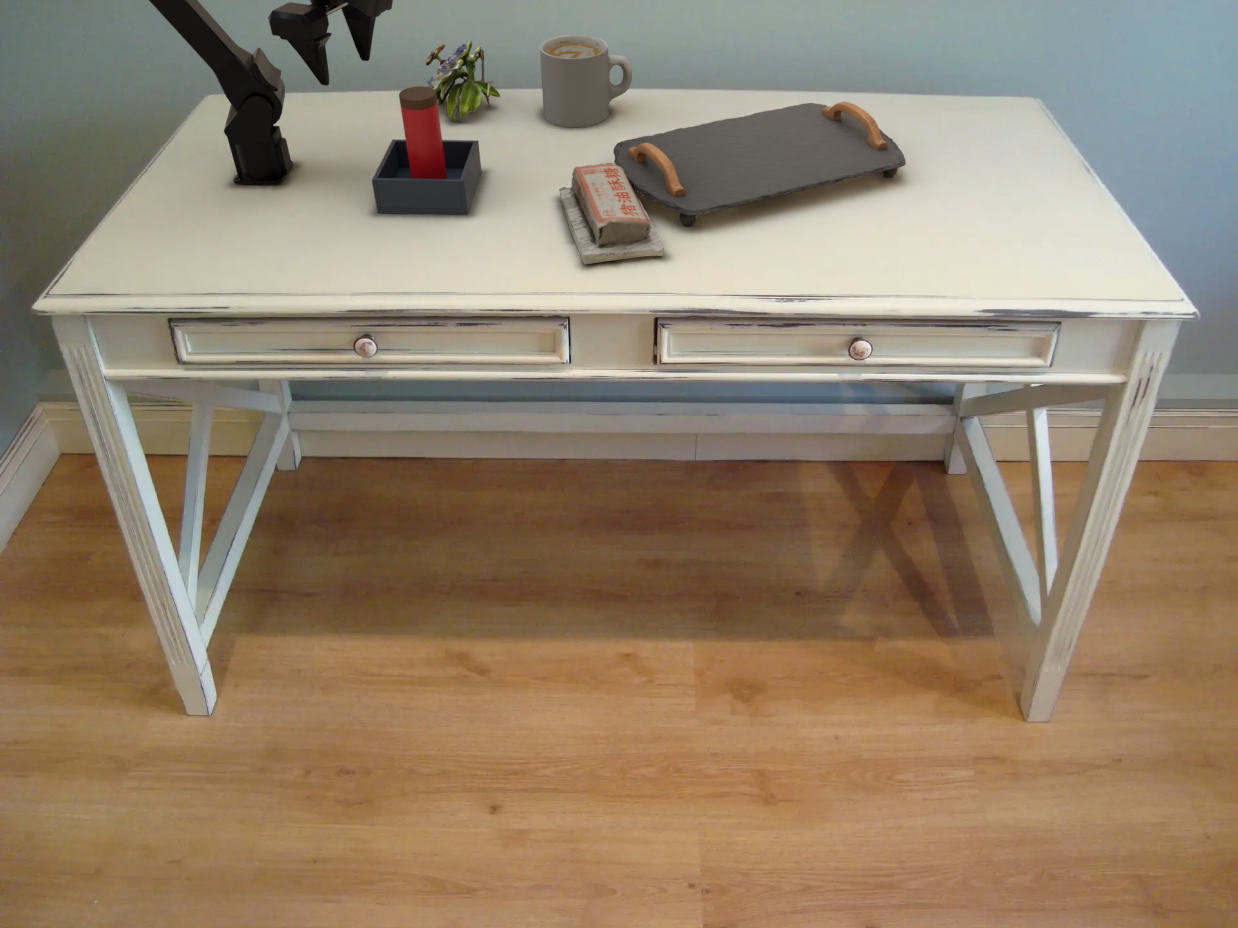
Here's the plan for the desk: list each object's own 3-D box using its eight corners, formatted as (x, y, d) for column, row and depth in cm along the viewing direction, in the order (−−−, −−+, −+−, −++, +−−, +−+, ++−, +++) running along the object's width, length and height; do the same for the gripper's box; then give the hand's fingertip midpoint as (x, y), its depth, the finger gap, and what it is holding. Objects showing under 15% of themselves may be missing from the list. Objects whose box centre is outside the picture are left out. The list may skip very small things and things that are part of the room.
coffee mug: (541, 127, 152) (537, 58, 145) (546, 100, 159) (542, 34, 152) (631, 127, 151) (631, 59, 145) (632, 101, 159) (632, 35, 152)
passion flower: (446, 137, 162) (435, 60, 161) (512, 126, 160) (501, 47, 159) (422, 122, 151) (410, 39, 150) (493, 110, 149) (481, 25, 148)
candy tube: (409, 194, 134) (395, 100, 126) (416, 178, 137) (403, 86, 129) (444, 195, 134) (432, 101, 125) (450, 179, 137) (439, 86, 129)
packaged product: (556, 164, 131) (632, 156, 133) (558, 198, 134) (631, 191, 136) (581, 230, 118) (665, 221, 119) (582, 267, 121) (664, 258, 123)
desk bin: (377, 213, 132) (371, 180, 129) (397, 171, 141) (392, 139, 138) (467, 214, 131) (463, 181, 128) (481, 172, 140) (478, 140, 137)
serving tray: (668, 240, 126) (669, 193, 122) (592, 165, 142) (591, 122, 138) (924, 178, 138) (933, 133, 134) (827, 116, 154) (833, 74, 150)
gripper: (332, -29, 114) (357, 108, 125) (419, -71, 127) (435, 56, 138) (251, -39, 118) (282, 95, 128) (344, -79, 131) (365, 46, 141)
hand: (345, 72), depth 134 cm, fingers open, 9 cm apart
